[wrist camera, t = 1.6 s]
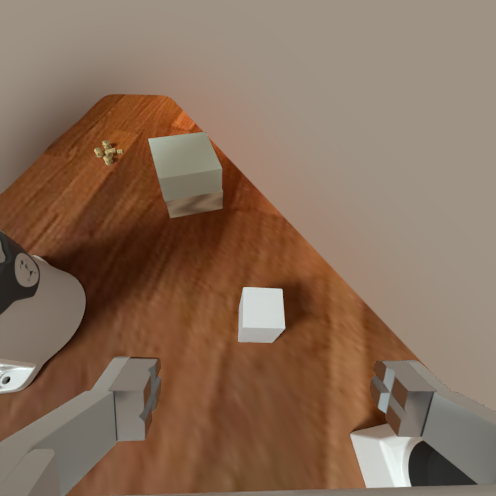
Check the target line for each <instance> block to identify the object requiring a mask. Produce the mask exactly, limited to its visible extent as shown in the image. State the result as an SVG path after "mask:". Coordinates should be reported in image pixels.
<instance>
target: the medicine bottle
mask: <svg viewBox="0 0 496 496" xmlns="http://www.w3.org/2000/svg"><path fill="white" fill-rule="evenodd" d="M350 436H351V439H352V443H353V446H354V449H355V453H356V456H357V459H358V462H359V466H360V469H361V472H362V475H363V479H364V482H365V485H366V488H383V487H418V486H452V485H478V484H477V483H476V482H475V481H473V480H472V479H471V478H470V477H468V476H467V475H466V474H465V473H464V472H462V471H461V470H460V469H459V468H457V467H456V466H455V465H454V464H452V463H451V462H450V461H449V460H447V459H446V458H445V457H444V456H443V455H441V454H440V453H439V452H438V451H436V450H435V449H434V448H433V447H431V446H430V445H429V444H428V443H426V442H425V441H424V440H423V439H422V437H397V435H396V434H395V432H394V431H393V430H392V428H391V427H390V425H389V424H388V423H387V424H383V425H379V426H375V427H371V428H367V429H362V430H358V431H354V432H351V434H350Z"/></svg>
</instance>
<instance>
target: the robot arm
mask: <svg viewBox="0 0 496 496" xmlns="http://www.w3.org/2000/svg"><path fill="white" fill-rule="evenodd" d="M85 305H86V298H85V293H84V289H83V287H82V285H81V284H80V282H79V281H78V280H77V279H76V278H75V277H74V276H72V275H70V274H69V273H67V272H64V271H61V270H59V269H56V268H54V267H52V266H50V265H49V264H48V263H47V262H46V261H45V260H44V259H42V258H41V257H39V256H32V255H31V254H29V253H27V252H26V251H25V250H24V249H23V248H22V247H21V246H20V245H19V244H18V243H16V242H15V241H14V240H12V239H11V238H10V237H8V236H7V235H6V234H5V233H4V232H3V231H1V230H0V393H8V392H16V391H20V390H23V389H24V388H26V387H27V386H28V385H29V384H30V383H31V382H32V380H33V379H34V378H35V376H36V375H37V373H38V372H39V370H40V369H41V367H42V366H43V364H44V363H45V362H46V361H47V360H48V359H49V358H51V357H52V356H53V355H54V354H55V353H57V352H58V351H59V350H60V349H61V348H62V347H63V346H64V345H65V344H66V343H67V342H68V341H69V340H70V338H71V337H72V336H73V335H74V333H75V332H76V330H77V328H78V327H79V325H80V323H81V320H82V318H83V315H84V311H85ZM160 369H161V362H160V358H153V357H115V358H114V359H113V360H112V361H111V363H110V364H109V365H108V367H107V368H106V370H105V371H104V372H103V374H102V375H101V377H100V378H99V379H98V381H97V382H96V384H95V385H94V387H93V388H92V389H91V391H85V392H83V393H82V394H80V395H78V396H77V397H75V398H73V399H72V400H70V401H68V402H67V403H65V404H63V405H62V406H60V407H58V408H57V409H55V410H53V411H52V412H50V413H48V414H47V415H45V416H43V417H42V418H40V419H38V420H36V421H35V422H33V423H31V424H30V425H28V426H26V427H25V428H23V429H21V430H20V431H18V432H16V433H15V434H13V435H11V436H10V437H8V438H6V439H5V440H3V441H1V442H0V496H65V495H66V494H67V493H68V492H69V491H70V490H71V489H72V488H73V487H74V486H75V485H76V484H77V483H78V482H79V481H80V480H81V479H82V478H83V477H84V476H85V475H86V474H87V473H88V472H89V471H90V470H91V469H92V468H93V467H94V465H95V464H96V463H97V462H98V461H99V460H100V459H101V458H102V457H103V456H104V455H105V454H106V453H107V452H108V451H109V450H110V449H111V448H112V447H113V446H114V445H115V444H116V441H135V440H145V439H146V436H147V433H148V430H149V427H150V425H151V422H152V412H153V411H154V410H155V409H156V407H157V404H158V401H159V396H160V390H161V378H160V377H159V376H158V374H159V371H160ZM373 370H374V372H375V374H376V376H375V377H374V378H373V379H372V380H371V385H370V390H371V396H372V398H373V401H374V403H375V404H376V406H377V407H378V408H379V409H380V410H381V411H383V412H384V413H386V417H385V419H386V421H387V422H388V424H389V425H390V427H391V428H392V430H393V431H394V432H395V434H396V435H397V437H422V439H423V440H424V441H425V442H426V443H428V444H429V445H430V446H431V447H433V448H434V449H435V450H436V451H438V452H439V453H440V454H441V455H443V456H444V457H445V458H446V459H447V460H449V461H450V462H451V463H452V464H454V465H455V466H456V467H457V468H459V469H460V470H461V471H462V472H464V473H465V474H466V475H467V476H468V477H470V478H471V479H472V480H473V481H475V482H476V483H477V484H478V485H452V486H418V487H383V488H349V489H316V490H282V491H249V492H215V493H182V494H148V495H115V496H496V411H494V410H492V409H490V408H488V407H486V406H484V405H481V404H480V403H478V402H476V401H474V400H472V399H470V398H468V397H466V396H464V395H462V394H460V393H458V392H452V391H451V390H450V389H449V388H448V387H446V386H445V385H444V384H443V383H442V382H441V381H440V380H439V379H438V378H437V377H435V376H434V375H433V374H432V373H431V372H430V371H429V370H428V369H427V368H425V367H424V366H423V365H422V364H421V363H420V362H418V361H416V360H402V361H376V363H375V364H374V369H373ZM8 378H10V381H9V383H7V384H6V381H7V379H8Z"/></svg>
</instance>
